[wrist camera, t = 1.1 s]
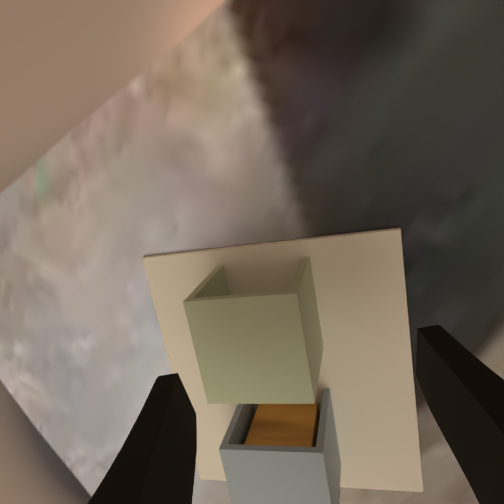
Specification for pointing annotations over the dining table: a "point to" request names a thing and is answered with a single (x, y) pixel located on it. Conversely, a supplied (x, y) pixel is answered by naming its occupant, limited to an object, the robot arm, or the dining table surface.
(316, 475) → the far cover
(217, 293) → the near cover
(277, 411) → the orange block
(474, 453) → the robot arm
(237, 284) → the mat
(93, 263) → the dining table surface
